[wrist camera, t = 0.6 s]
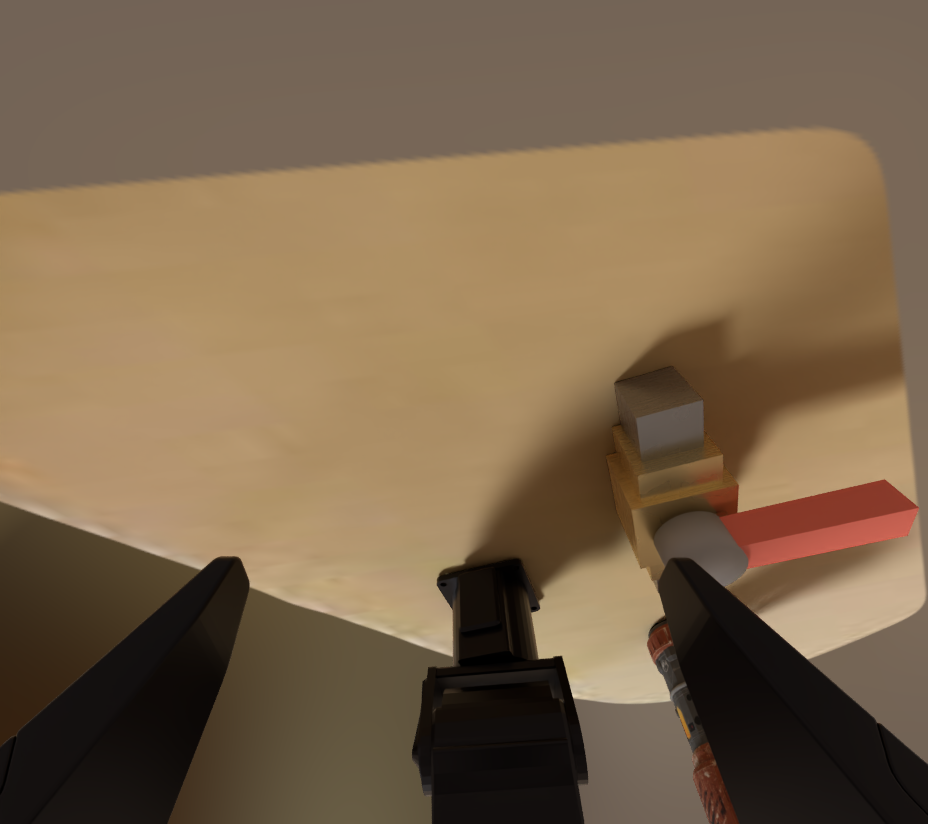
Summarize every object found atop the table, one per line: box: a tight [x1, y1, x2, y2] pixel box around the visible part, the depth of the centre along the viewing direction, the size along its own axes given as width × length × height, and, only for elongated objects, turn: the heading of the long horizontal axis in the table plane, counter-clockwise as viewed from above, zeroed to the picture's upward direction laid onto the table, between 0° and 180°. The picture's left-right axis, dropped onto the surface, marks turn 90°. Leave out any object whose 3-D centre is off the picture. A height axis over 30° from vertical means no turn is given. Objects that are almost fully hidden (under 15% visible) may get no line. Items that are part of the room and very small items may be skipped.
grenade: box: [647, 620, 739, 824], centre depth 31 cm, size 6×8×15 cm
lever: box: [654, 480, 919, 587], centre depth 21 cm, size 11×4×2 cm, turn 109°
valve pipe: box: [606, 366, 739, 593], centre depth 24 cm, size 15×5×4 cm, turn 19°
